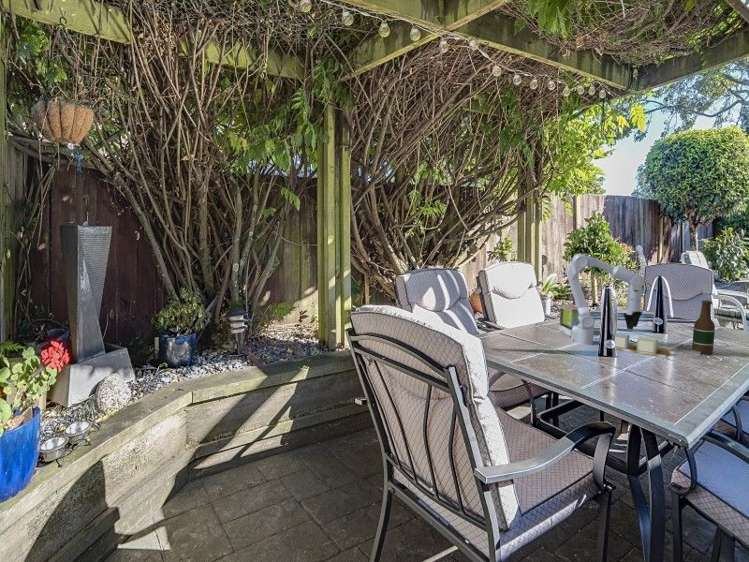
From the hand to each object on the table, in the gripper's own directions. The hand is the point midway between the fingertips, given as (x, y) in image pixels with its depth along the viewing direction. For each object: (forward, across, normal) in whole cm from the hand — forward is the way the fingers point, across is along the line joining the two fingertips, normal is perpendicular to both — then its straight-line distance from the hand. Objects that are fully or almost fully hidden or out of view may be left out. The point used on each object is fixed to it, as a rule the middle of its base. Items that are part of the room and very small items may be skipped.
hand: (631, 327), depth 210 cm
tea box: (+10, +13, +30) cm, 34 cm away
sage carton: (+9, -8, -8) cm, 14 cm away
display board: (+10, -3, -4) cm, 11 cm away
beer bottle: (+10, +14, -26) cm, 31 cm away
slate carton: (+9, -8, +3) cm, 12 cm away
